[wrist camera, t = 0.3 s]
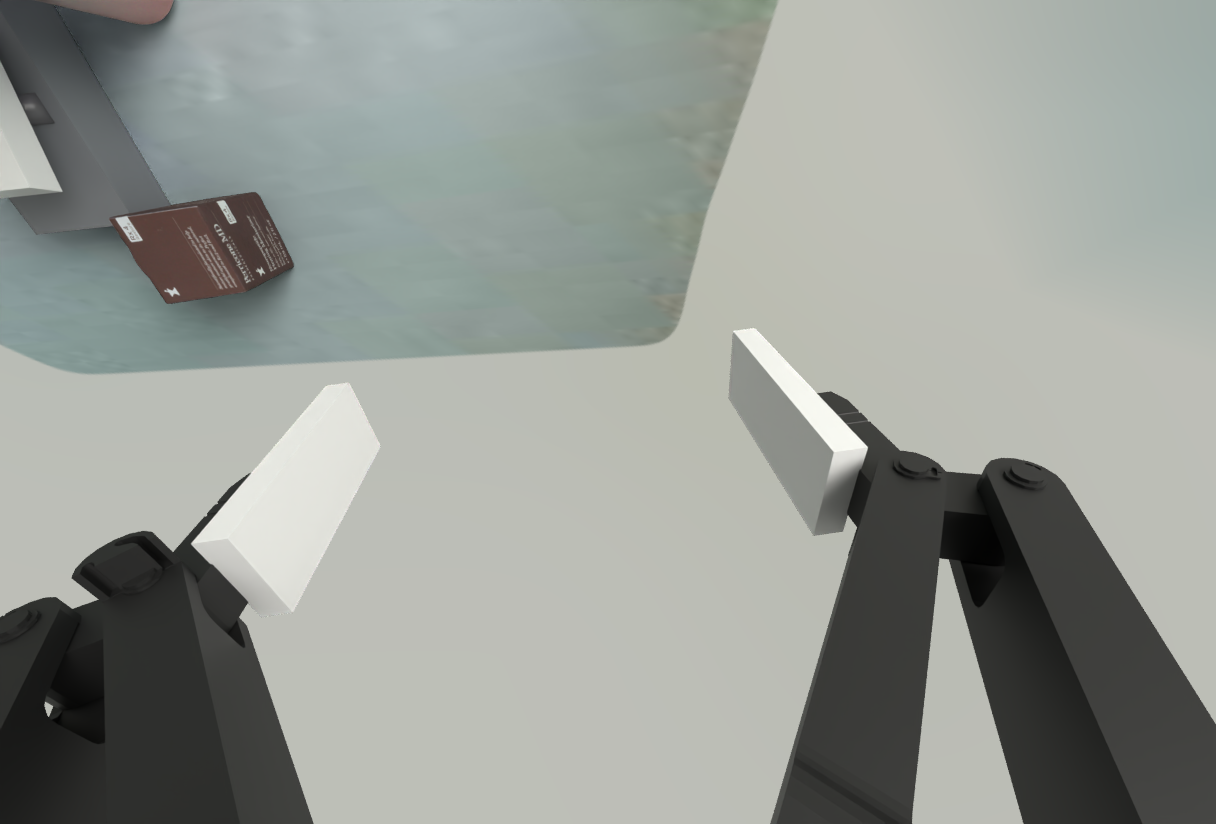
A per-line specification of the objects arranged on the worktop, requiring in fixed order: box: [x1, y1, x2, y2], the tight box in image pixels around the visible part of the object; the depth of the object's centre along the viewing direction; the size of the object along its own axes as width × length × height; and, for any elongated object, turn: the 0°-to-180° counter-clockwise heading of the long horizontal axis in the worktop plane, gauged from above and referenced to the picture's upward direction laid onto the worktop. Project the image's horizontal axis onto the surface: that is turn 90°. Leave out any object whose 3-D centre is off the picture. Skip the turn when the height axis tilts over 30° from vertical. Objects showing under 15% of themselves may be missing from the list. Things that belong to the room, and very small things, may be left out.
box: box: [109, 192, 294, 304], centre depth 34 cm, size 6×6×7 cm
